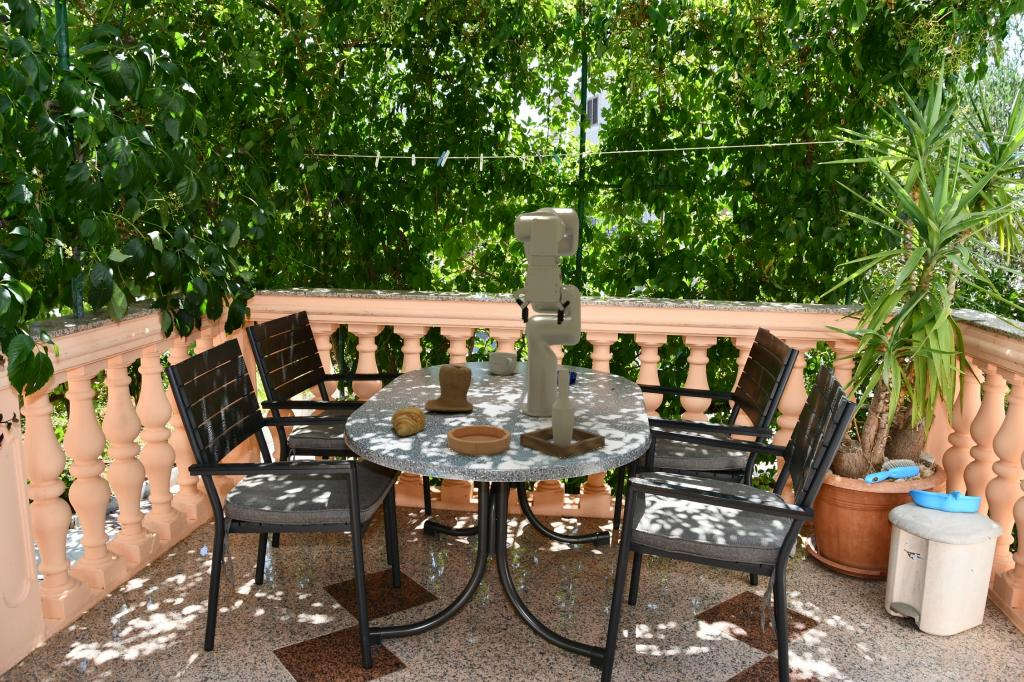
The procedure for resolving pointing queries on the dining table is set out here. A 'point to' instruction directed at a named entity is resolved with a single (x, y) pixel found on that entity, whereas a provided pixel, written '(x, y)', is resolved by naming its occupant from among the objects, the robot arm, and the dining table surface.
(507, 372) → the teacup
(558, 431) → the faceted bottle
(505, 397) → the dining table surface
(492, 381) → the dining table surface
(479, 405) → the dining table surface
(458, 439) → the terracotta dish
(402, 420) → the croissant
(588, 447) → the square wooden frame
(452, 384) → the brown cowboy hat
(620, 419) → the dining table surface
